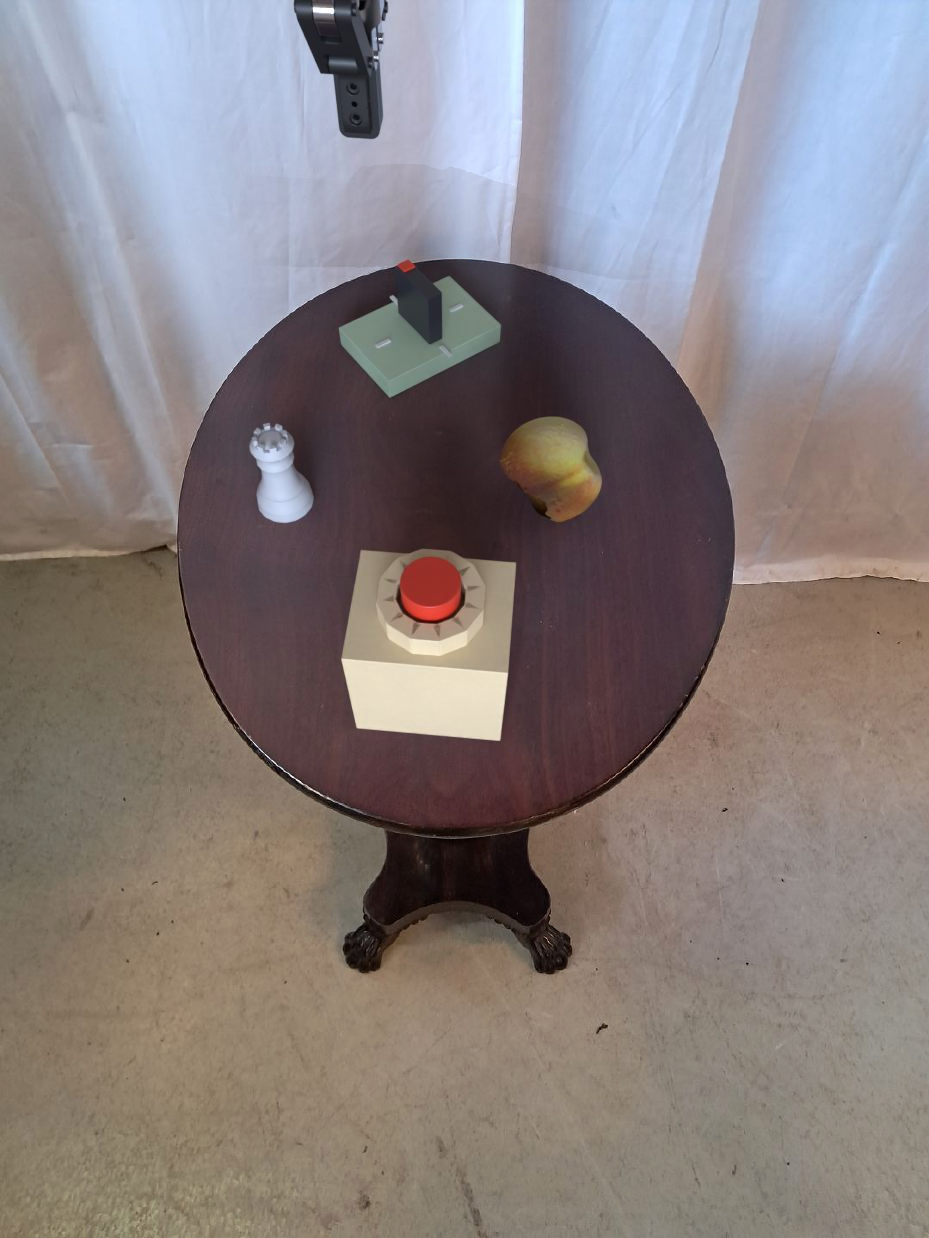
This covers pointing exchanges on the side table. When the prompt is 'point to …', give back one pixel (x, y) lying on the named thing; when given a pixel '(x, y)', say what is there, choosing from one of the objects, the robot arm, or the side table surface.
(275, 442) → the rook chess piece
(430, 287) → the black box
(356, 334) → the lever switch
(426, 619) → the red push button
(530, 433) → the fruit
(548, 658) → the side table surface
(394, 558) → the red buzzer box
